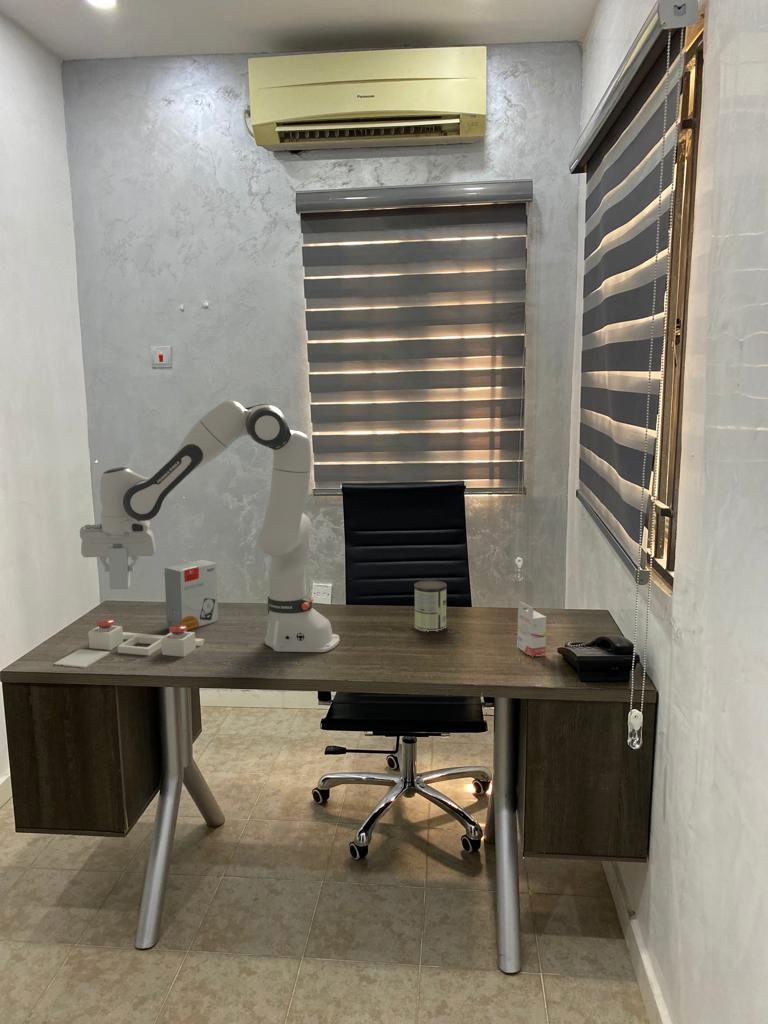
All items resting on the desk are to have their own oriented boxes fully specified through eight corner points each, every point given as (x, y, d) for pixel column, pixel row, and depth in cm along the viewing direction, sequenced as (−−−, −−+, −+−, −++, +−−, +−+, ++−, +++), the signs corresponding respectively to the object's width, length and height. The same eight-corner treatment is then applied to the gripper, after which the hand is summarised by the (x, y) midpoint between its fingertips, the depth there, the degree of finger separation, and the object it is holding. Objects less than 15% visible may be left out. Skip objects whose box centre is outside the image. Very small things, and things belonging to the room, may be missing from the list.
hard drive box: (181, 633, 252) (178, 571, 249) (165, 628, 257) (162, 567, 253) (219, 620, 265) (216, 561, 261) (203, 616, 269) (201, 558, 266)
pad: (109, 653, 235) (109, 651, 235) (85, 667, 223) (85, 666, 223) (79, 650, 237) (79, 649, 237) (53, 664, 226) (53, 663, 226)
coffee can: (413, 621, 263) (413, 580, 260) (445, 621, 263) (445, 580, 260) (414, 632, 253) (414, 588, 250) (447, 632, 252) (447, 588, 250)
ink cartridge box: (546, 656, 231) (548, 606, 229) (531, 658, 230) (532, 608, 227) (530, 646, 239) (532, 598, 237) (516, 648, 237) (517, 600, 235)
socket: (204, 643, 243) (203, 637, 242) (183, 658, 230) (182, 652, 230) (110, 635, 250) (109, 629, 250) (84, 649, 238) (84, 643, 238)
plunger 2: (190, 647, 238) (189, 624, 236) (182, 653, 233) (181, 630, 232) (175, 646, 239) (174, 623, 238) (167, 652, 234) (165, 628, 233)
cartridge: (130, 584, 236) (128, 540, 234) (128, 588, 231) (126, 544, 229) (112, 584, 235) (110, 541, 233) (109, 589, 230) (107, 545, 228)
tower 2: (195, 648, 238) (194, 632, 237) (184, 656, 232) (183, 640, 231) (174, 646, 240) (173, 630, 239) (162, 654, 233) (161, 638, 232)
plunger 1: (118, 641, 243) (117, 618, 242) (109, 646, 239) (107, 624, 237) (103, 639, 245) (102, 617, 243) (94, 645, 240) (92, 622, 239)
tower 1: (123, 642, 244) (122, 626, 243) (110, 649, 238) (109, 633, 237) (103, 640, 246) (102, 624, 245) (89, 647, 239) (88, 631, 238)
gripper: (77, 526, 225) (79, 574, 228) (152, 525, 228) (154, 573, 231) (81, 522, 231) (84, 569, 234) (155, 521, 234) (156, 567, 237)
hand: (119, 571), depth 232 cm, fingers closed on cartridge, 5 cm apart
